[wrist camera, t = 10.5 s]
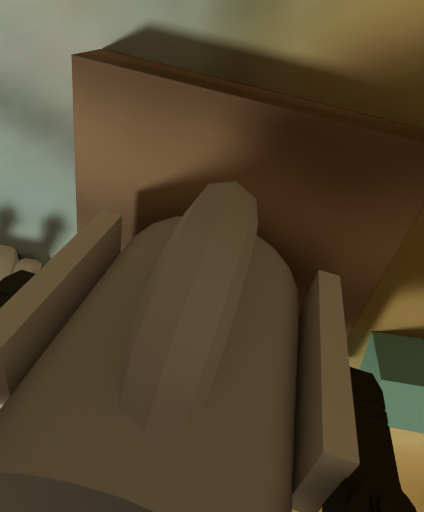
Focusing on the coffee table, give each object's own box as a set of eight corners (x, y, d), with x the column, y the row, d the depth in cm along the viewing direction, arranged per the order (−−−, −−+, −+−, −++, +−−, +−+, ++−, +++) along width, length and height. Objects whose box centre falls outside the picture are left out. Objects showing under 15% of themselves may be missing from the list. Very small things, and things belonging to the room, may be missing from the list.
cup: (115, 322, 17) (-28, 555, 10) (140, 100, 11) (-169, 272, 4) (265, 373, 17) (231, 652, 10) (372, 171, 11) (489, 500, 4)
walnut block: (100, 48, 13) (71, 54, 12) (437, 132, 12) (455, 151, 11) (98, 294, 20) (80, 320, 19) (314, 360, 19) (314, 392, 18)
